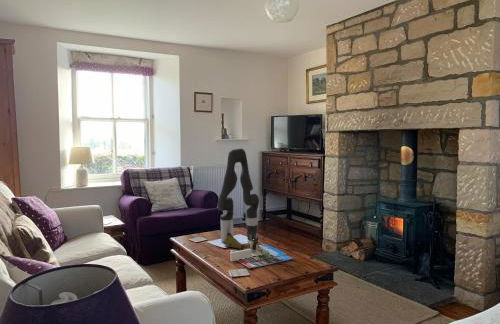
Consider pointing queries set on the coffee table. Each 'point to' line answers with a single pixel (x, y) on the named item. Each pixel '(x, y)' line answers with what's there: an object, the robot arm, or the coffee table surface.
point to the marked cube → (250, 246)
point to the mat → (255, 253)
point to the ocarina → (232, 242)
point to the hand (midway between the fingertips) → (252, 248)
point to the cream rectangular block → (240, 254)
